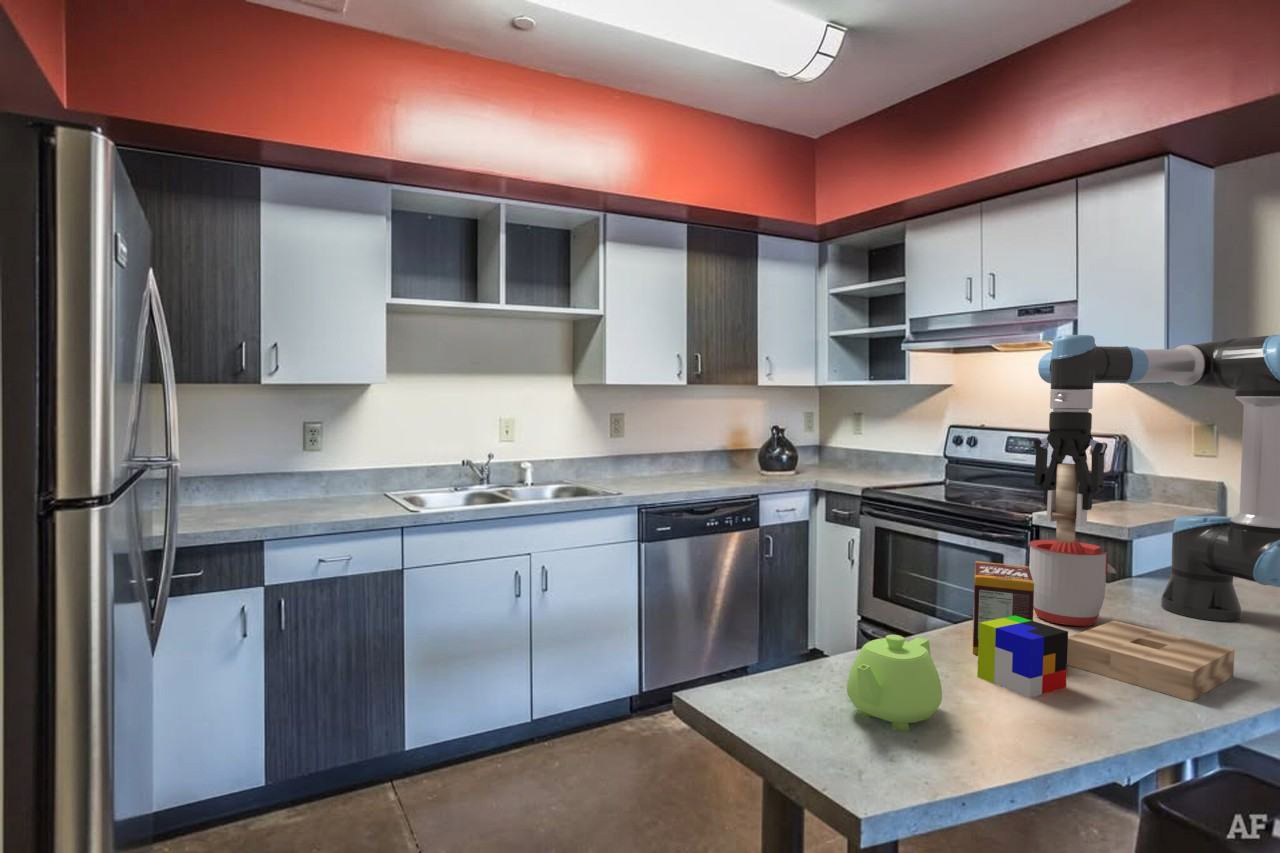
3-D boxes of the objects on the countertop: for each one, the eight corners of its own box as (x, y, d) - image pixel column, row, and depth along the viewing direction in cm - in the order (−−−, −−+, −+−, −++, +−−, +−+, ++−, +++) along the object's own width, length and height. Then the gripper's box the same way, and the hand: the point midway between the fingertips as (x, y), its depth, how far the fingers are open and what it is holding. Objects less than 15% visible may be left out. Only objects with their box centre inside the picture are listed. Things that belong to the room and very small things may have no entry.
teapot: (898, 751, 102) (900, 664, 101) (818, 718, 112) (820, 638, 112) (964, 713, 115) (967, 635, 114) (888, 686, 125) (890, 614, 125)
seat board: (1112, 644, 148) (1113, 620, 148) (1233, 676, 132) (1234, 649, 132) (1064, 663, 137) (1065, 637, 137) (1190, 701, 120) (1192, 671, 120)
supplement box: (1026, 639, 151) (1029, 565, 150) (1032, 663, 137) (1035, 582, 136) (972, 631, 155) (974, 560, 155) (972, 654, 141) (974, 576, 141)
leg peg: (1059, 537, 153) (1061, 462, 152) (1085, 542, 148) (1088, 464, 148) (1046, 540, 150) (1048, 463, 149) (1072, 544, 146) (1075, 465, 145)
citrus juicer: (1123, 635, 154) (1127, 542, 153) (1032, 625, 160) (1035, 536, 159) (1104, 615, 169) (1107, 530, 168) (1021, 606, 175) (1024, 524, 174)
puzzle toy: (1029, 698, 121) (1031, 639, 121) (977, 677, 130) (979, 622, 130) (1065, 687, 126) (1068, 631, 125) (1013, 668, 135) (1015, 615, 134)
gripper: (1017, 409, 154) (1013, 518, 155) (1110, 412, 138) (1105, 532, 139) (1035, 409, 158) (1032, 515, 159) (1128, 411, 142) (1123, 528, 143)
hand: (1066, 522), depth 149 cm, fingers closed on leg peg, 5 cm apart
